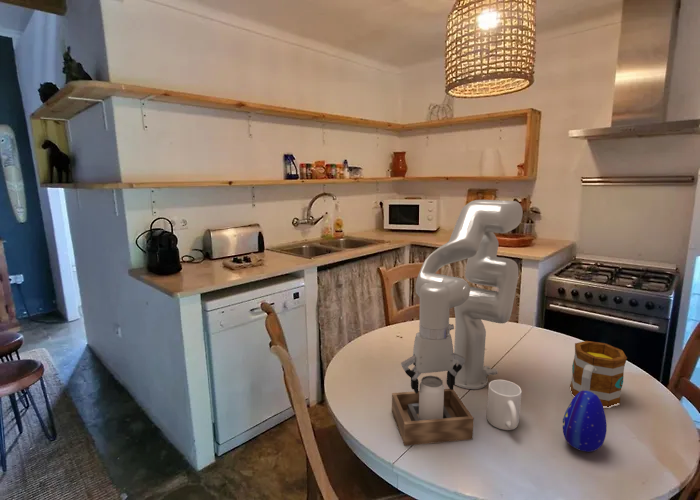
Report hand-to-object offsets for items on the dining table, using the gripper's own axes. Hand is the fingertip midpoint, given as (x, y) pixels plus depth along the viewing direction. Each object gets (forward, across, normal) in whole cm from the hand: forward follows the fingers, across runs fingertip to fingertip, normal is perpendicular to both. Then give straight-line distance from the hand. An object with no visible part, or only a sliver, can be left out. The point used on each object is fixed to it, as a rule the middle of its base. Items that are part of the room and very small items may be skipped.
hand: (432, 388), depth 104 cm
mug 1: (+11, -19, +4) cm, 22 cm away
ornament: (+11, -34, +14) cm, 38 cm away
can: (+10, +1, +1) cm, 10 cm away
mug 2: (+12, -51, -4) cm, 53 cm away
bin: (+10, +1, +1) cm, 10 cm away
